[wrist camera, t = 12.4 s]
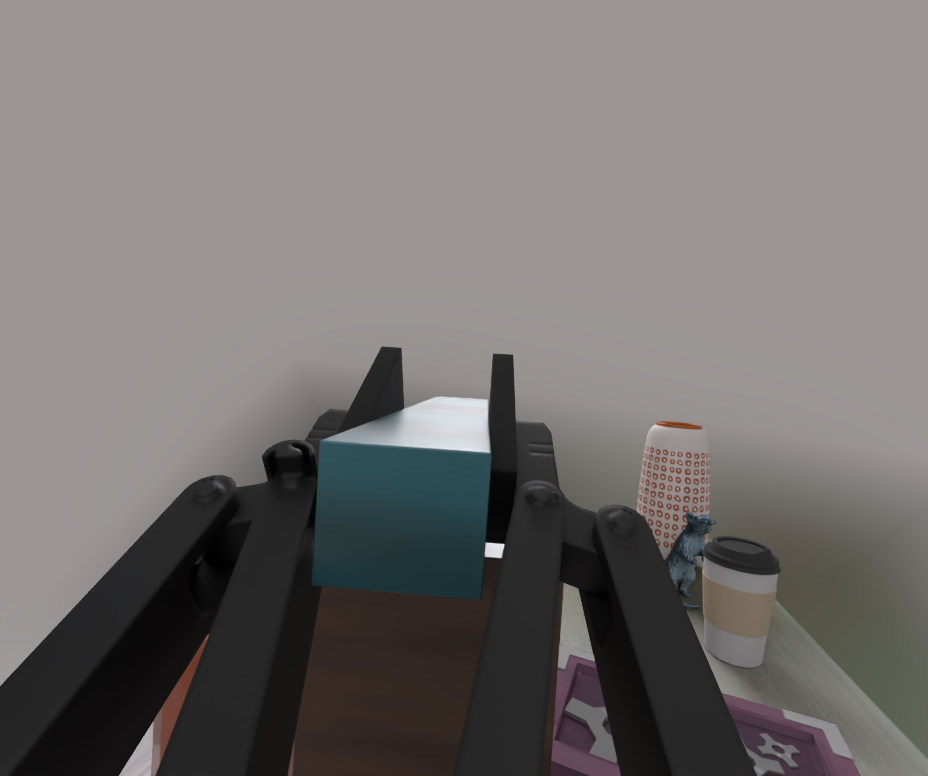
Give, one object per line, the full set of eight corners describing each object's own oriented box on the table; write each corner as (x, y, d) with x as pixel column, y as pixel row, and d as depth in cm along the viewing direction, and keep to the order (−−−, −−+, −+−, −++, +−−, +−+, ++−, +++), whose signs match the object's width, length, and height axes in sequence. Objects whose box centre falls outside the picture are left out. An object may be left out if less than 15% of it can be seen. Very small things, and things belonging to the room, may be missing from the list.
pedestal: (516, 1274, 18) (565, 563, 17) (266, 1235, 18) (304, 542, 17) (503, 878, 32) (529, 480, 31) (362, 862, 32) (384, 469, 31)
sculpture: (679, 617, 69) (686, 520, 69) (634, 585, 80) (640, 501, 79) (722, 613, 72) (730, 519, 71) (674, 582, 82) (680, 500, 82)
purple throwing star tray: (831, 777, 42) (835, 724, 42) (925, 991, 27) (933, 909, 27) (557, 687, 52) (560, 644, 52) (516, 806, 37) (520, 746, 37)
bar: (481, 601, 9) (491, 452, 9) (310, 586, 9) (319, 439, 9) (484, 443, 31) (487, 399, 31) (434, 439, 31) (437, 396, 31)
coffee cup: (681, 640, 63) (688, 534, 63) (720, 627, 67) (728, 527, 67) (747, 681, 55) (757, 559, 55) (787, 662, 59) (796, 549, 59)
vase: (692, 585, 81) (704, 429, 81) (621, 560, 91) (631, 420, 90) (714, 566, 91) (725, 426, 90) (648, 545, 100) (658, 419, 100)
